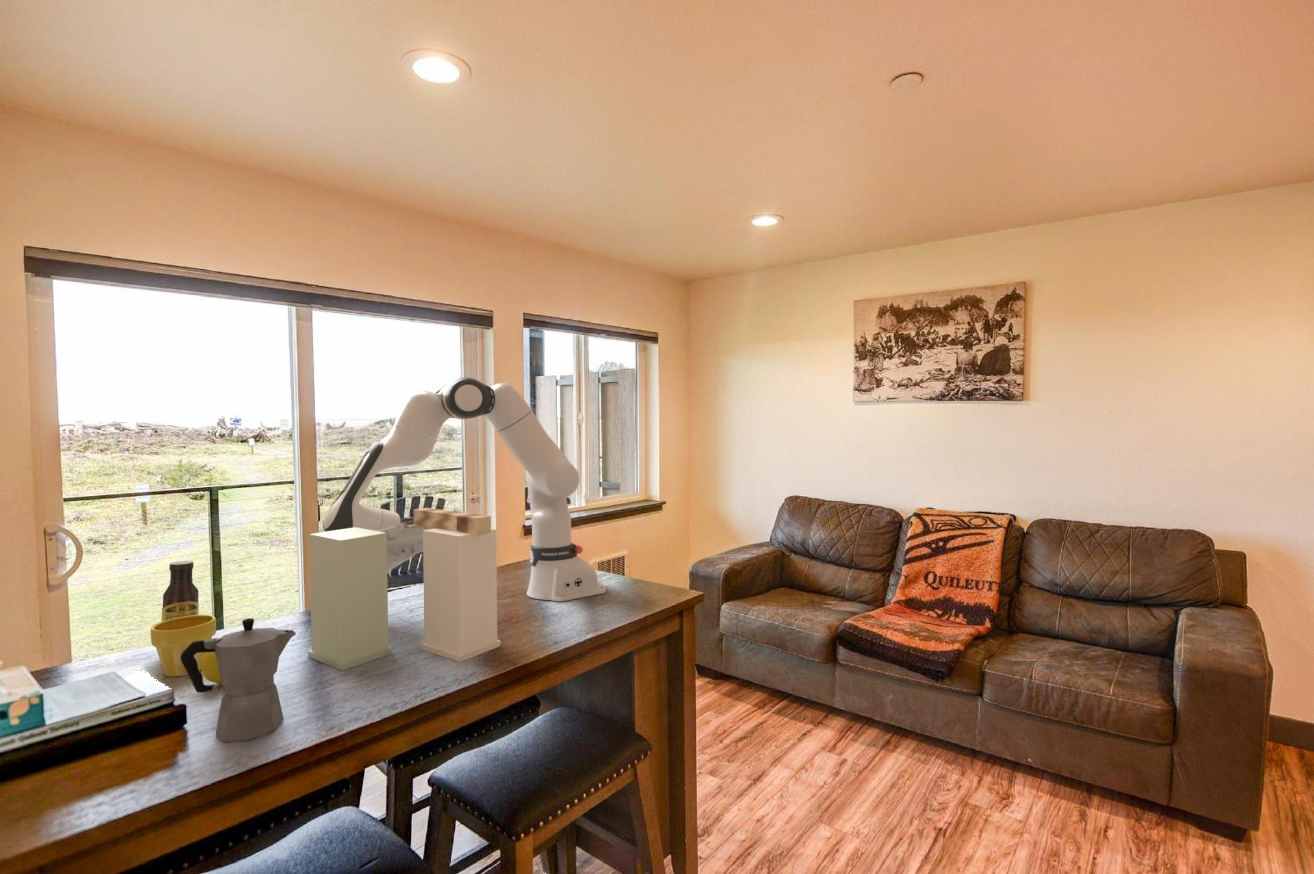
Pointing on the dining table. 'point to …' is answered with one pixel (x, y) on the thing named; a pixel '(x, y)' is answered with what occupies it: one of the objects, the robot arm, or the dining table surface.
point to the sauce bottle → (180, 592)
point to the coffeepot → (243, 679)
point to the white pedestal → (459, 593)
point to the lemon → (211, 668)
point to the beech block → (453, 520)
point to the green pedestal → (349, 597)
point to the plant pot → (181, 640)
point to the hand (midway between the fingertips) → (422, 522)
